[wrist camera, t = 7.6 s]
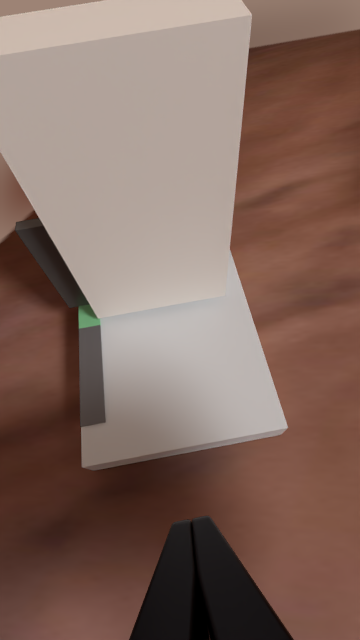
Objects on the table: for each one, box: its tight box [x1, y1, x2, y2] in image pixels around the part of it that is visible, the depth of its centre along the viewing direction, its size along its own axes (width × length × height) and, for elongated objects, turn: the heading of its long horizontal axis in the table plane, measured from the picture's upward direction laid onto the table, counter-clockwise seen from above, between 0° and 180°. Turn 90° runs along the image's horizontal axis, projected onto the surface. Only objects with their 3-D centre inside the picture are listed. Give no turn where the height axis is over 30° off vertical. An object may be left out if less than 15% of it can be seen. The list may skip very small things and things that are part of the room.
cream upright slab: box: [0, 0, 252, 318], centre depth 12 cm, size 4×7×10 cm, turn 100°
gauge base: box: [79, 250, 288, 471], centre depth 16 cm, size 14×8×2 cm, turn 10°
